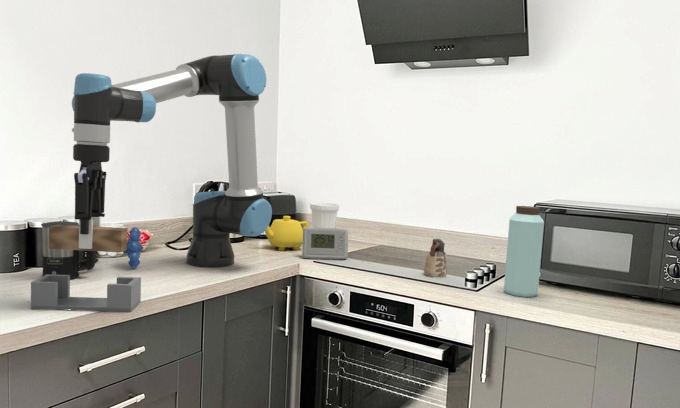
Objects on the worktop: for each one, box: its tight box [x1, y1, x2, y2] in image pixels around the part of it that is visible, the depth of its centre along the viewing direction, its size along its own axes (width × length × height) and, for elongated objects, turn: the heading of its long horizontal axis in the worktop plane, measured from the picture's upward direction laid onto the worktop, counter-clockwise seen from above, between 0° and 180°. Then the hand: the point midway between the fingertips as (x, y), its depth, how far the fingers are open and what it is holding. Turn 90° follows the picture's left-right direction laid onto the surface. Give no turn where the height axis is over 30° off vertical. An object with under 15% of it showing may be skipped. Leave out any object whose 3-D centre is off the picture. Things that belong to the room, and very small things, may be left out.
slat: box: [49, 224, 129, 253], centre depth 129 cm, size 16×4×5 cm, turn 92°
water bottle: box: [503, 205, 545, 298], centre depth 162 cm, size 10×10×25 cm
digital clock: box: [301, 227, 349, 261], centre depth 200 cm, size 16×9×11 cm, turn 85°
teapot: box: [264, 215, 309, 252], centre depth 214 cm, size 13×20×12 cm
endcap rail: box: [30, 274, 142, 313], centre depth 129 cm, size 21×8×6 cm, turn 95°
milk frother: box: [40, 221, 99, 280], centre depth 157 cm, size 14×16×15 cm
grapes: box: [122, 226, 144, 269], centre depth 170 cm, size 12×7×12 cm, turn 19°
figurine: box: [423, 238, 448, 278], centre depth 181 cm, size 7×7×12 cm
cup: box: [309, 202, 340, 228], centre depth 238 cm, size 12×12×15 cm
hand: (89, 246), depth 129 cm, fingers closed on slat, 4 cm apart
